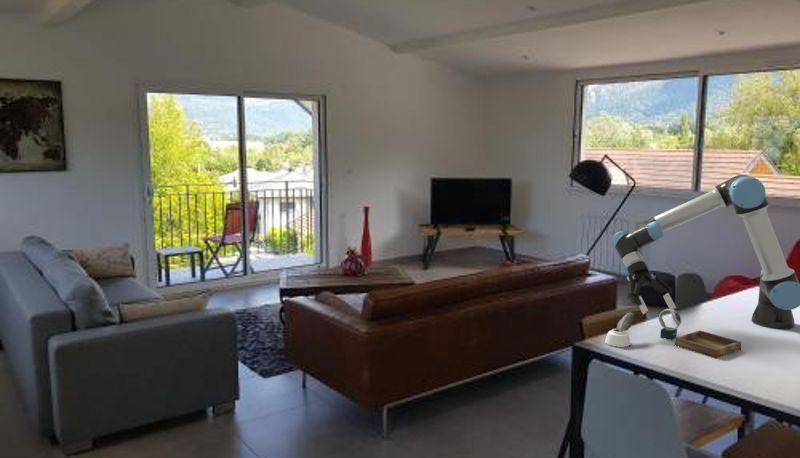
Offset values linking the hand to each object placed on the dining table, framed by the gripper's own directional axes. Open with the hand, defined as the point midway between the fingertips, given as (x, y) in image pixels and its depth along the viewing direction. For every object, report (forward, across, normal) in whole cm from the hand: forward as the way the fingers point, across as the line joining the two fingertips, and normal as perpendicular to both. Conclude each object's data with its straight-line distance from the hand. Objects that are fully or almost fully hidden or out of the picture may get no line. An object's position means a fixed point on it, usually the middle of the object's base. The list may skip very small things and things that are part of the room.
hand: (659, 310), depth 244 cm
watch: (+10, -1, -3) cm, 11 cm away
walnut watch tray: (+20, -5, +7) cm, 22 cm away
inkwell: (+8, +19, -6) cm, 21 cm away
